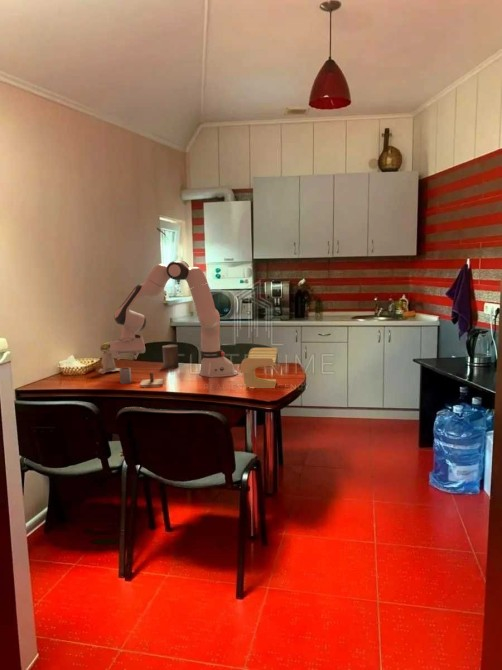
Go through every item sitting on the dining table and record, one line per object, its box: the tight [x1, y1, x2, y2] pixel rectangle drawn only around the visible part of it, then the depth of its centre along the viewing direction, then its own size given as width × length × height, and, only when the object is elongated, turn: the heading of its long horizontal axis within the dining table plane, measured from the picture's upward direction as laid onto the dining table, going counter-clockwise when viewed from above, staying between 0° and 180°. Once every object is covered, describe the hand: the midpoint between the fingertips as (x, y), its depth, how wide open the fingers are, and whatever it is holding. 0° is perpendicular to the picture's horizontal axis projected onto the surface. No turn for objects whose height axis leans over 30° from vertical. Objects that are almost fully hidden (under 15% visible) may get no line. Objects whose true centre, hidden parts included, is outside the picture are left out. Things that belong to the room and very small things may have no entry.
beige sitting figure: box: [98, 341, 121, 375], centre depth 312 cm, size 12×13×18 cm
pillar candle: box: [161, 344, 180, 369], centre depth 323 cm, size 10×10×15 cm
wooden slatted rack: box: [240, 347, 278, 389], centre depth 271 cm, size 30×16×18 cm, turn 172°
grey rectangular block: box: [119, 366, 132, 385], centre depth 284 cm, size 5×5×8 cm
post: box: [139, 372, 165, 388], centre depth 279 cm, size 12×12×6 cm
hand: (126, 358), depth 292 cm, fingers open, 8 cm apart
